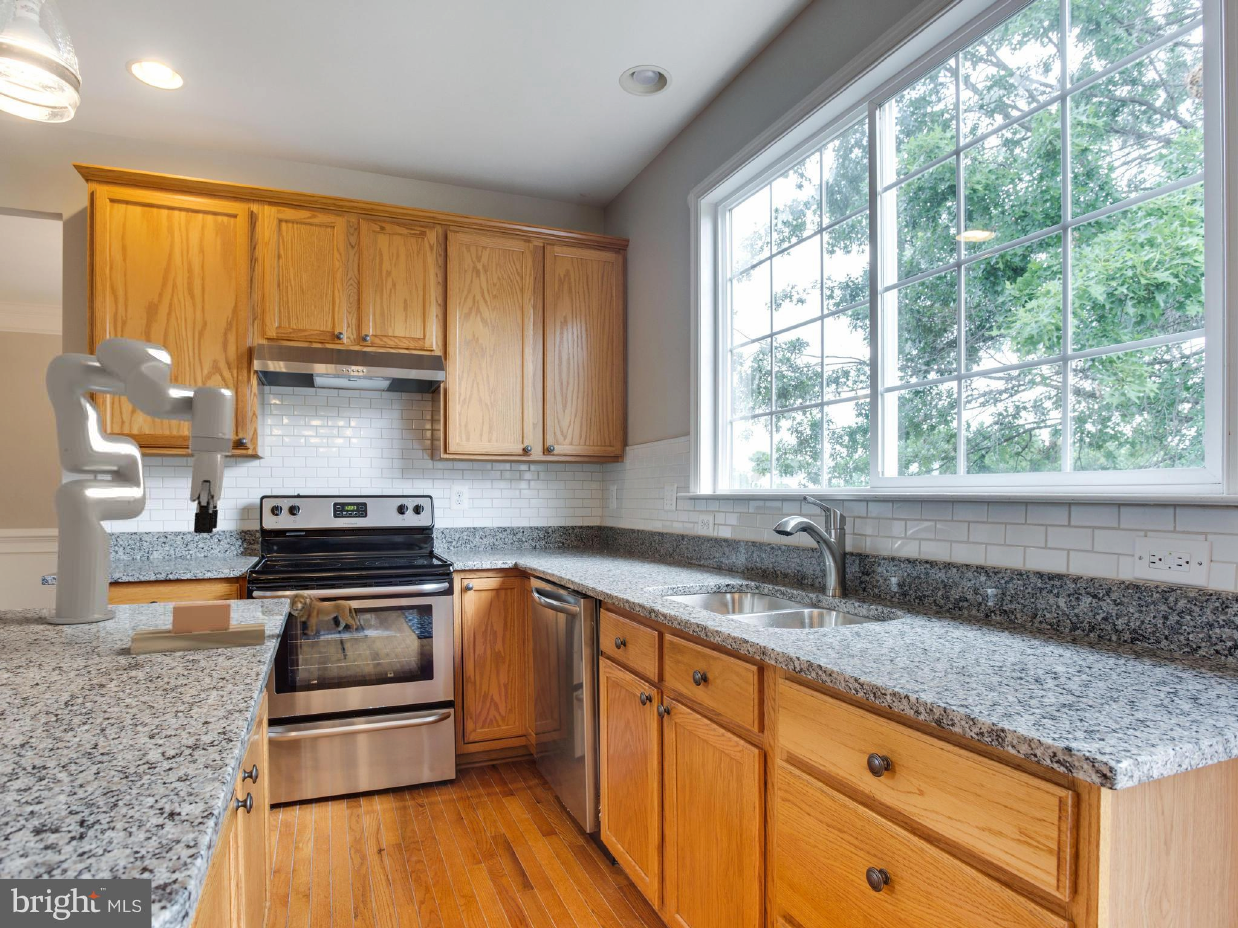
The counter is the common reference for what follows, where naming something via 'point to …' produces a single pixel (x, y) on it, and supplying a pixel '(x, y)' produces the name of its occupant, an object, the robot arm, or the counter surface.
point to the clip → (201, 617)
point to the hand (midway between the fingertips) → (205, 530)
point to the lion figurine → (321, 611)
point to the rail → (197, 639)
